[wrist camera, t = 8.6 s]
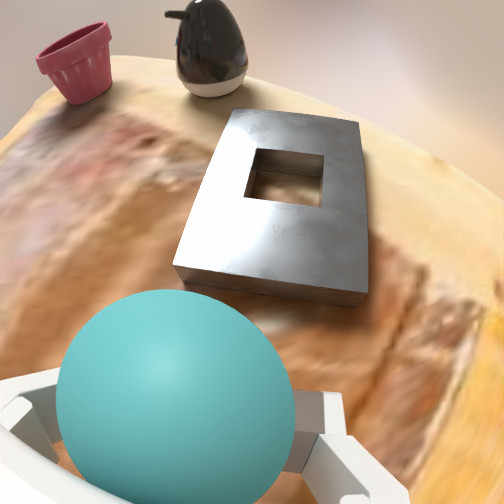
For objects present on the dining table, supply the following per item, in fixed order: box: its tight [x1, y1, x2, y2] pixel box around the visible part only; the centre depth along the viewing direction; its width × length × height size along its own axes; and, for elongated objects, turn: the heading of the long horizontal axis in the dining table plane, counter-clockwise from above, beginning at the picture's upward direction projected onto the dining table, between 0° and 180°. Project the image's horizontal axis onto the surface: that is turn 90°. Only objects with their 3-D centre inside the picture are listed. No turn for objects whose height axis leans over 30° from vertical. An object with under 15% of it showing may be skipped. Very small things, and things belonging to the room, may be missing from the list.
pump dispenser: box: [164, 0, 249, 97], centre depth 33 cm, size 10×10×15 cm
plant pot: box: [36, 21, 112, 105], centre depth 39 cm, size 14×14×13 cm
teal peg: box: [56, 290, 295, 504], centre depth 8 cm, size 4×4×9 cm
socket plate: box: [173, 108, 368, 308], centre depth 27 cm, size 14×20×3 cm
